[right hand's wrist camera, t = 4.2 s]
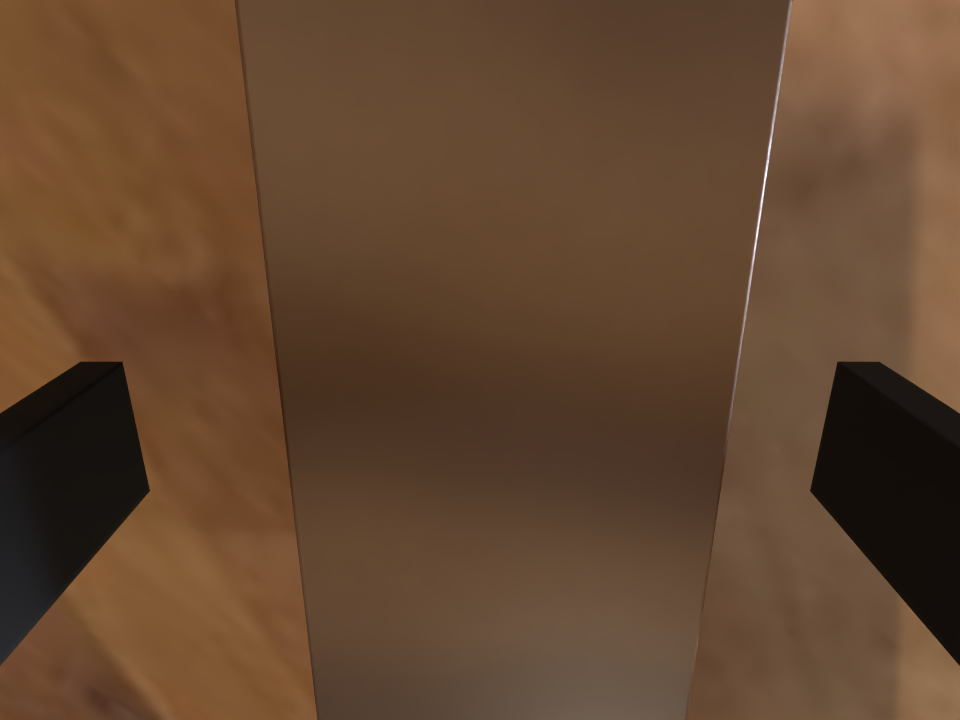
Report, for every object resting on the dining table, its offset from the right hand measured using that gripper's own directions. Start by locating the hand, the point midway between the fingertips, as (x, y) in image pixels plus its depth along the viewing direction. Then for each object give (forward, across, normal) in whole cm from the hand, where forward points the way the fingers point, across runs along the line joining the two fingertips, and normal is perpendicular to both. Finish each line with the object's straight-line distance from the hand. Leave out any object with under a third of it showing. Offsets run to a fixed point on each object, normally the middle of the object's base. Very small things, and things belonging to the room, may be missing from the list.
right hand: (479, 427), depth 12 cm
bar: (+5, 0, -20) cm, 21 cm away
